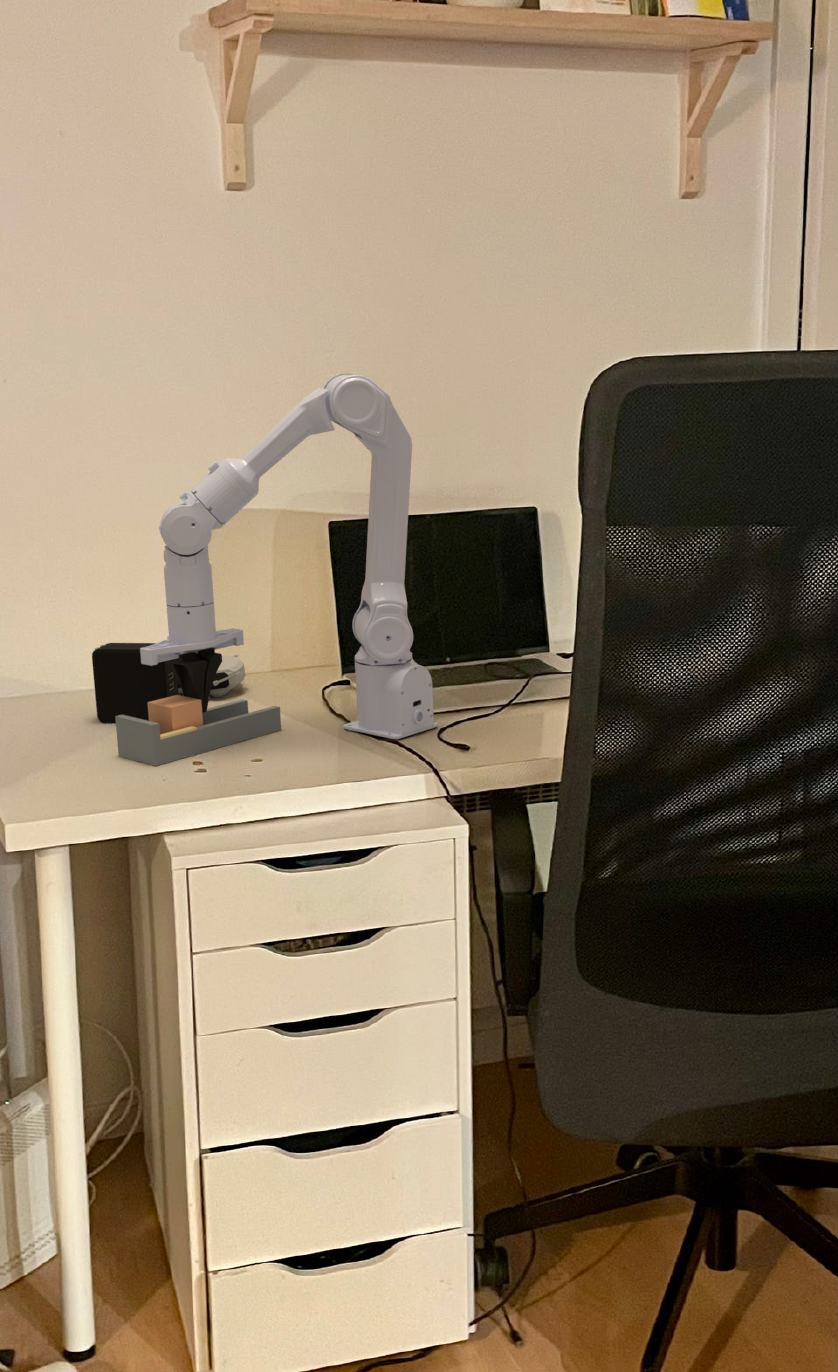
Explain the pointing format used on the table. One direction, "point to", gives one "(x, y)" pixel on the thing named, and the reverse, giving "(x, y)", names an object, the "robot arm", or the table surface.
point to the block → (175, 713)
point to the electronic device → (128, 681)
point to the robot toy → (226, 676)
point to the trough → (193, 733)
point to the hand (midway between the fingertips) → (197, 711)
